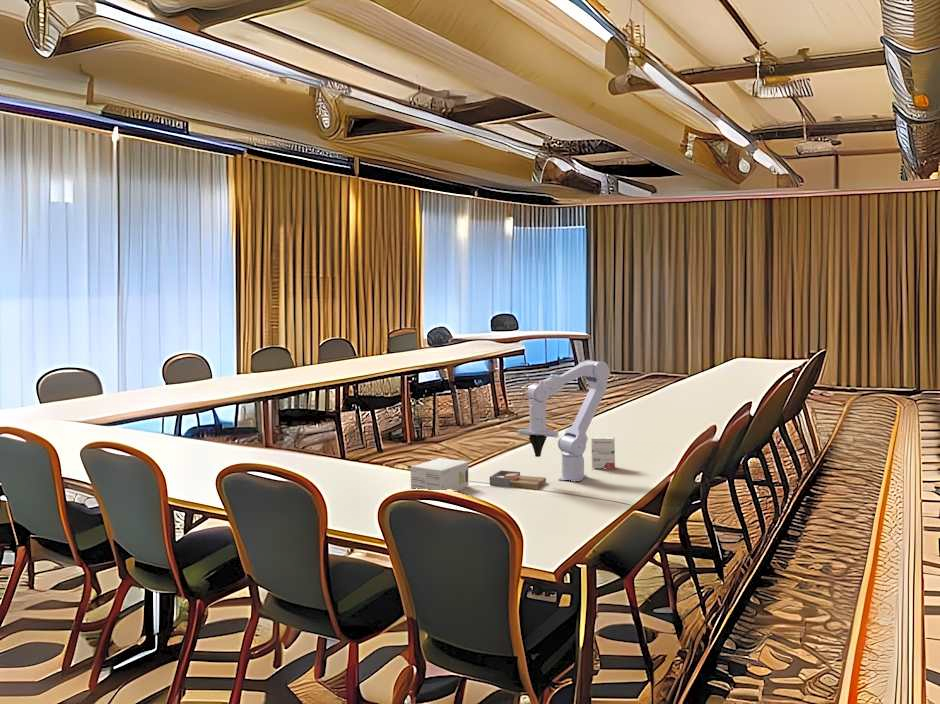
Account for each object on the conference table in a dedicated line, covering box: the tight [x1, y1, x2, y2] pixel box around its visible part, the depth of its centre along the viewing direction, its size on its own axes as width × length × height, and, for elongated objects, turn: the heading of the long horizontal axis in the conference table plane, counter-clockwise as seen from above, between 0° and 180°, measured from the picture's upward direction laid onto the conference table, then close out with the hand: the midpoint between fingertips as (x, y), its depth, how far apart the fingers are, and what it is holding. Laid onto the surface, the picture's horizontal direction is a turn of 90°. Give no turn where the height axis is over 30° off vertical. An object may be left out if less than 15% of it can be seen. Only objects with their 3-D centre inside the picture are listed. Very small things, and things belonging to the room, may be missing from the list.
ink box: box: [590, 436, 616, 470], centre depth 325 cm, size 9×5×12 cm, turn 77°
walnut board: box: [509, 475, 547, 490], centre depth 301 cm, size 10×10×2 cm
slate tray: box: [489, 470, 521, 488], centre depth 305 cm, size 10×8×3 cm
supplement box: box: [410, 457, 470, 492], centre depth 296 cm, size 17×13×9 cm
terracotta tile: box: [504, 473, 519, 480], centre depth 303 cm, size 4×4×2 cm
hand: (538, 456), depth 301 cm, fingers closed
